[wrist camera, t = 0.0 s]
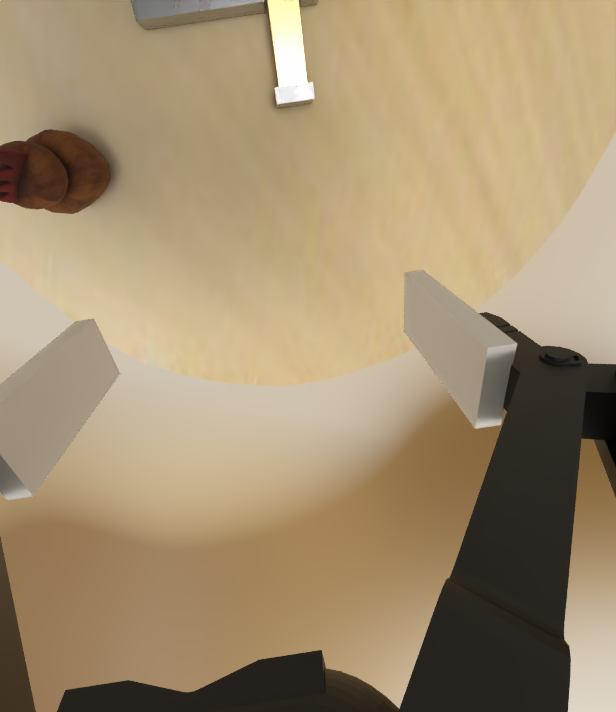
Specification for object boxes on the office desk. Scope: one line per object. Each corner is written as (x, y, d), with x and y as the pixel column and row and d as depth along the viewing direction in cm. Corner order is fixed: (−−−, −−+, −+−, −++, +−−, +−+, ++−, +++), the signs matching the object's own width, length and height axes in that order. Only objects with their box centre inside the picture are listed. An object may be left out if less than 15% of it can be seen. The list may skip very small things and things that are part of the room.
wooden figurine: (80, 119, 33) (-43, 97, 20) (131, 173, 36) (50, 183, 23) (39, 169, 35) (-99, 178, 22) (90, 217, 38) (-8, 249, 25)
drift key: (247, -96, 27) (244, -124, 25) (290, -103, 27) (292, -132, 25) (276, 108, 34) (277, 104, 31) (311, 103, 34) (314, 98, 31)
